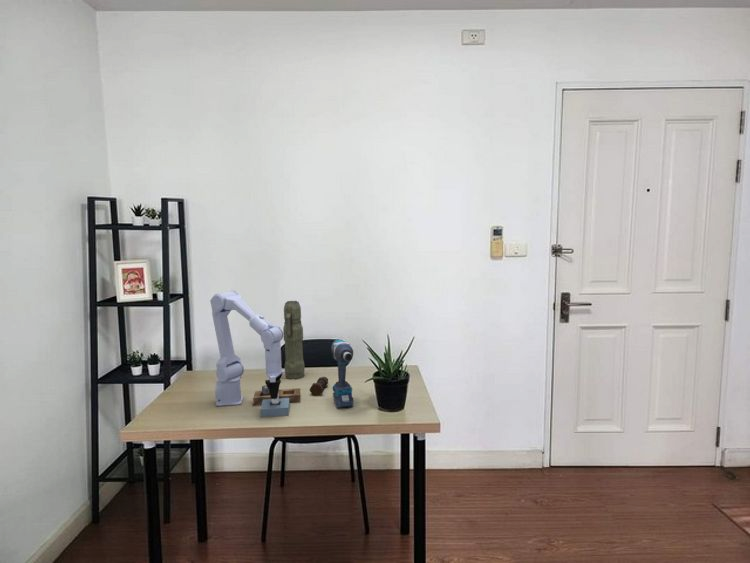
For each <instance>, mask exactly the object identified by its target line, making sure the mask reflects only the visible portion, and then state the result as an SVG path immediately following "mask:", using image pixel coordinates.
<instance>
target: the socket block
mask: <svg viewBox="0 0 750 563" xmlns="http://www.w3.org/2000/svg"><path fill="white" fill-rule="evenodd" d="M290 404H291V403H289V398H281V399H279V405H273V406H272V404H271V399H265V400H263V401H262V405H260V411H259V412H260V418H267V417H268V418H269V417H270V418H271V417H284V416H285V417H286V416H289V415H290V414H289V413H290V406H291V405H290Z"/></svg>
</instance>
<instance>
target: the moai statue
mask: <svg viewBox="0 0 750 563" xmlns="http://www.w3.org/2000/svg"><path fill="white" fill-rule="evenodd" d="M283 319H284V322H283V324H284V325H283V330H282V331H283V341H284V351H285V352H284V354H285V355H284V356H285V357H284V358H285V362H284V370H285V373H284V374H285V376H284V377H285V379H288V380H292V379H295V380H300V379H303V378H304V377H305V369H306V368H305V361H304V352H303V340H304V327H303V325H302V308H301V305H300V302H299V301H297V300H289V301H286V302H285V303H284V306H283Z"/></svg>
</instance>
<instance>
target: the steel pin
mask: <svg viewBox="0 0 750 563" xmlns="http://www.w3.org/2000/svg"><path fill="white" fill-rule="evenodd" d="M271 404H272V406H273V405H279V393H278V397H277V399H271Z"/></svg>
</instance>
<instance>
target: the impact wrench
mask: <svg viewBox="0 0 750 563" xmlns="http://www.w3.org/2000/svg"><path fill="white" fill-rule="evenodd" d="M331 354H332V357H333V359H334V361H336V362H337V372H338V373H337V376H338V381H336V382H335V383H334V384H333V386H332V391H333V392H332V397H333V403H334V404H335V406H336V408H337V409H343V408H353V406H354V397H353V387H352V385H351V384H350V383H349V382H348V381H346V376H347V374H346V373H347V364H349V363H351V361H352V360H353V357H354V349H353V348H352V346H351V344H350V342H349V341H345V340H343V339H339V338H338V339H335V340H334V341H333V342H332V344H331Z"/></svg>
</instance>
